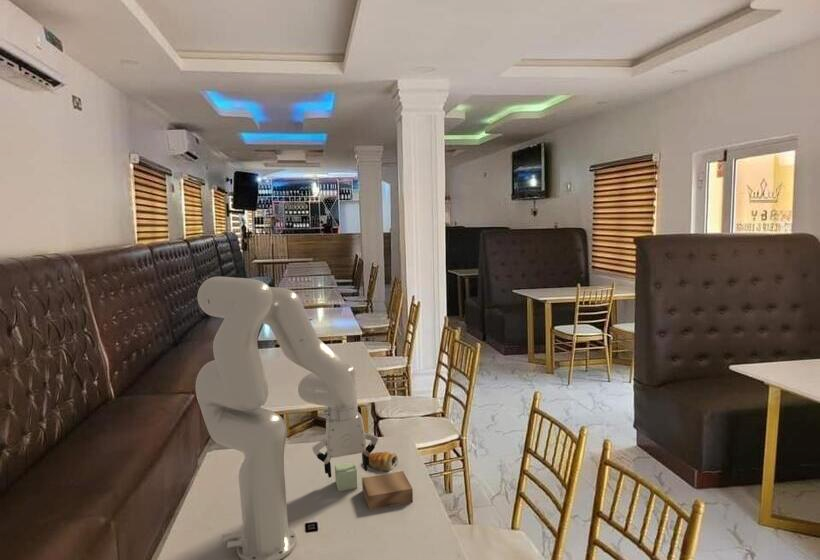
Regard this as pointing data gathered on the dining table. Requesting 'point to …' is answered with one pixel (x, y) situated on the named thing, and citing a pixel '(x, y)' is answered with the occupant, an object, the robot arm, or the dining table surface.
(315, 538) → the dining table surface
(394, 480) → the walnut block
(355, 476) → the green cube
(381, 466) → the pastry
